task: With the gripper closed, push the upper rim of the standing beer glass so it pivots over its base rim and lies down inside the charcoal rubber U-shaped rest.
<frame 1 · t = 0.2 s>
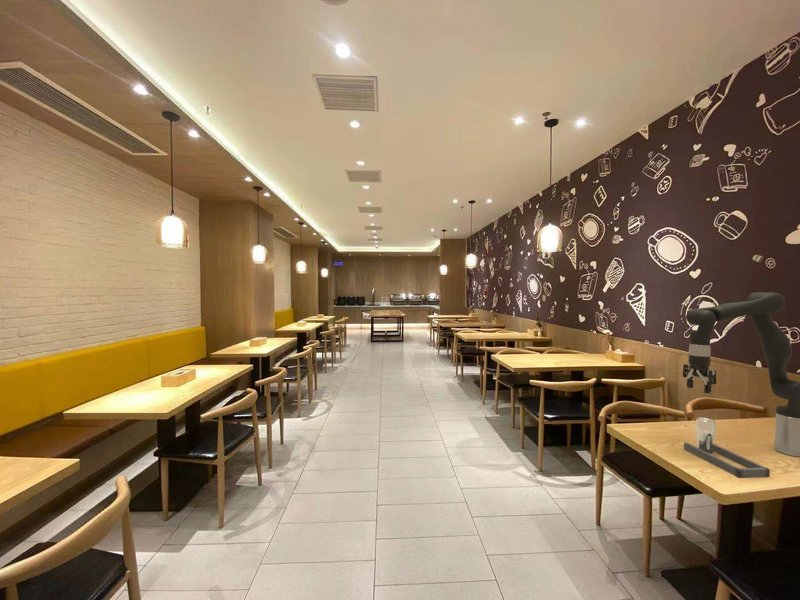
hand: (698, 390, 162), 29 cm above the table, fingers open, 8 cm apart
beer glass: (704, 453, 164), on the table
u rest: (721, 460, 156), on the table
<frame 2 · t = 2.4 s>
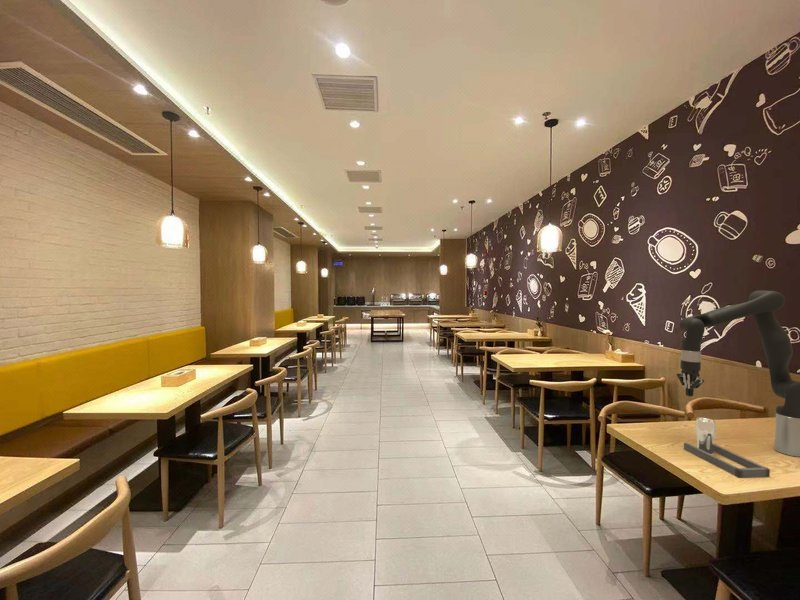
hand: (689, 395, 172), 23 cm above the table, fingers closed
nothing on the table moved.
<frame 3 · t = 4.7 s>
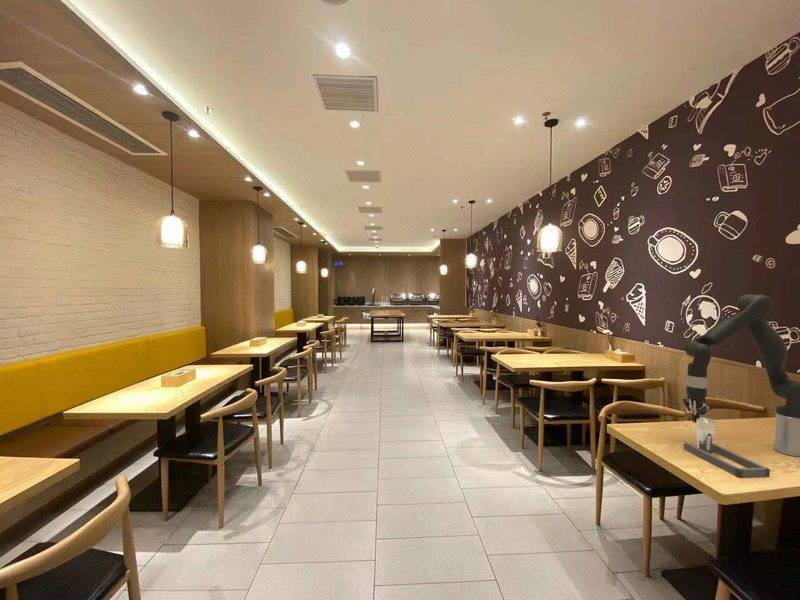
hand: (695, 422, 169), 12 cm above the table, fingers closed
beer glass: (704, 452, 164), on the table, touching gripper
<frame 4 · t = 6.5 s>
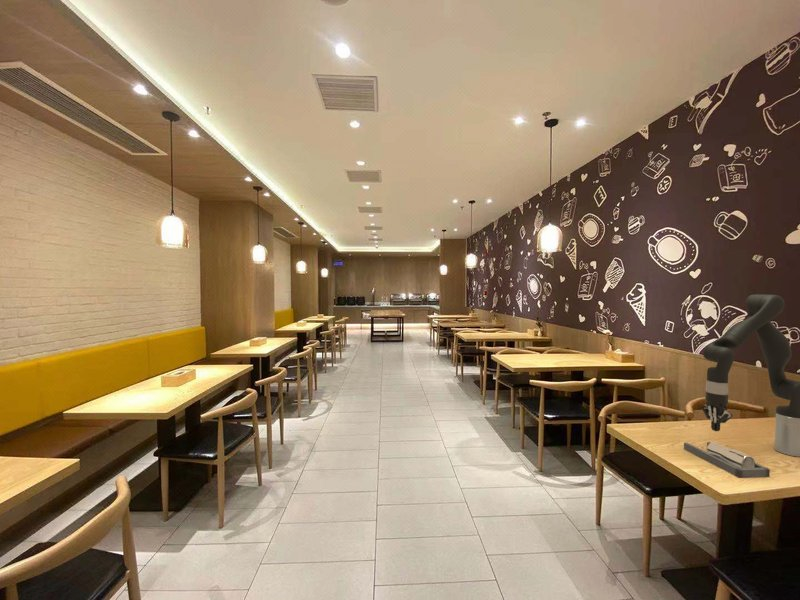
hand: (715, 430, 159), 12 cm above the table, fingers closed
beer glass: (712, 448, 162), point 3 cm above the table
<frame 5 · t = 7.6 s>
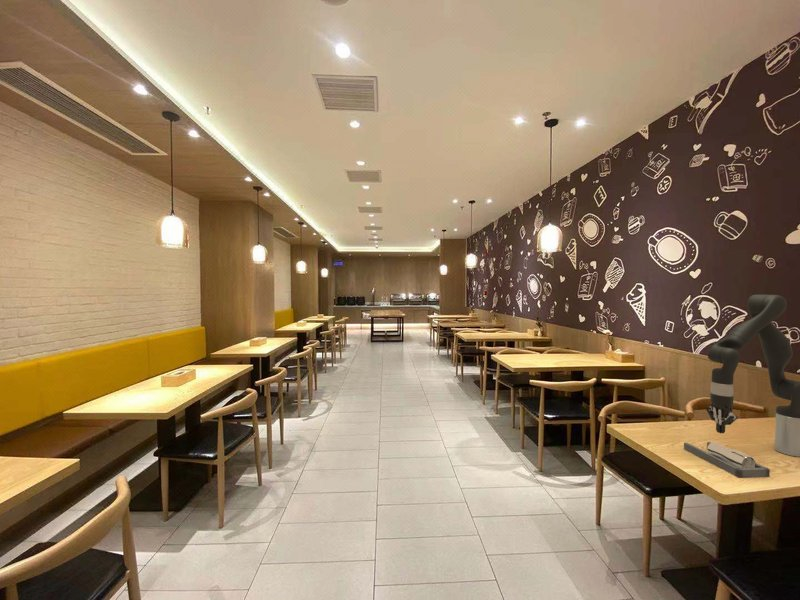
hand: (720, 432, 157), 12 cm above the table, fingers closed
nothing on the table moved.
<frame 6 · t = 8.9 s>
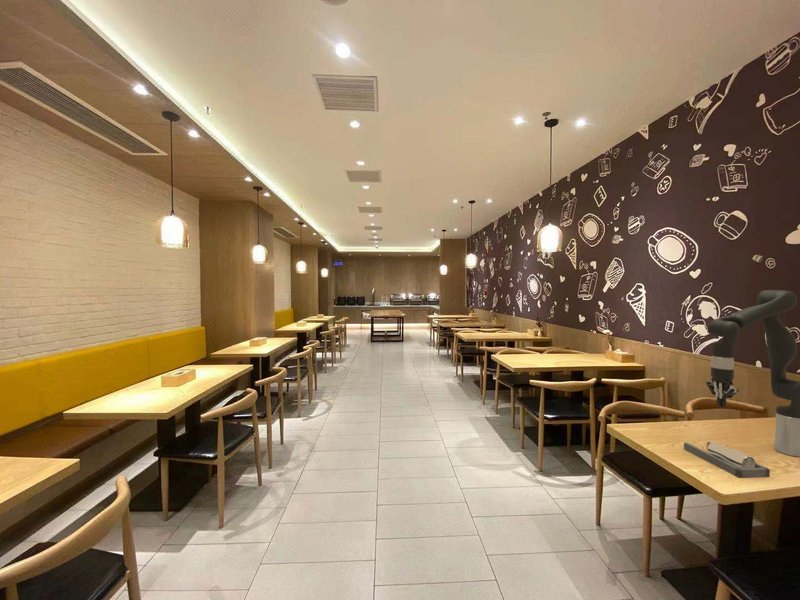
hand: (721, 406, 156), 23 cm above the table, fingers closed
nothing on the table moved.
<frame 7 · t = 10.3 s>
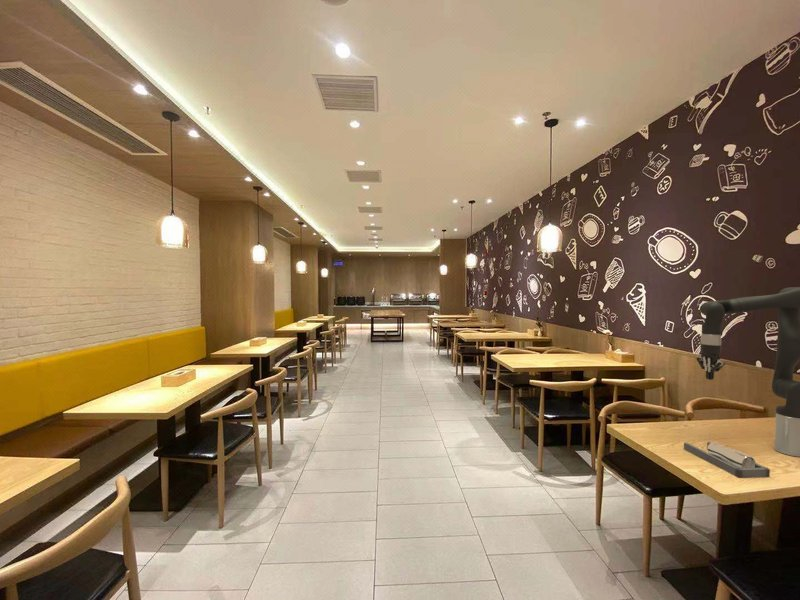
hand: (709, 379, 174), 31 cm above the table, fingers closed
nothing on the table moved.
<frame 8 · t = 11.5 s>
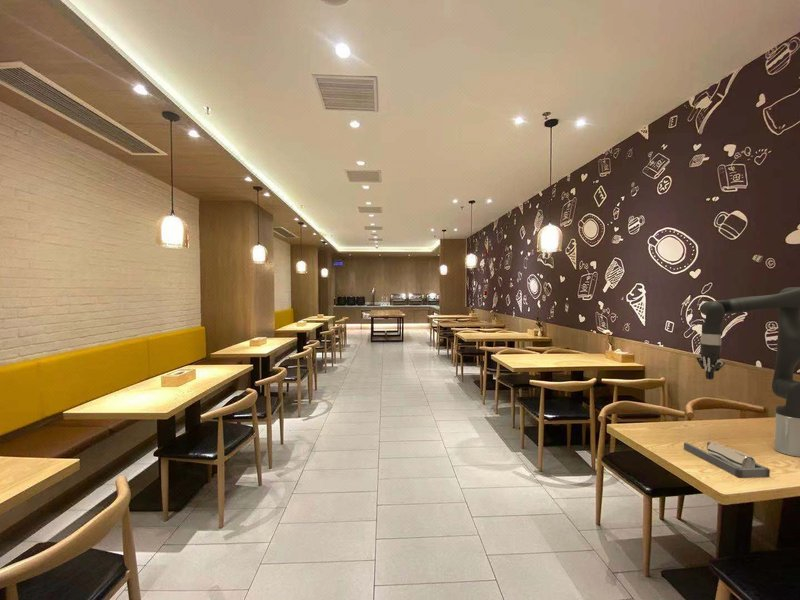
hand: (709, 379, 174), 31 cm above the table, fingers closed
nothing on the table moved.
at the end: beer glass tilted 89°; beer glass inside the target area on the u rest (4.0 cm from its centre), point 3.0 cm above the u rest's base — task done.
